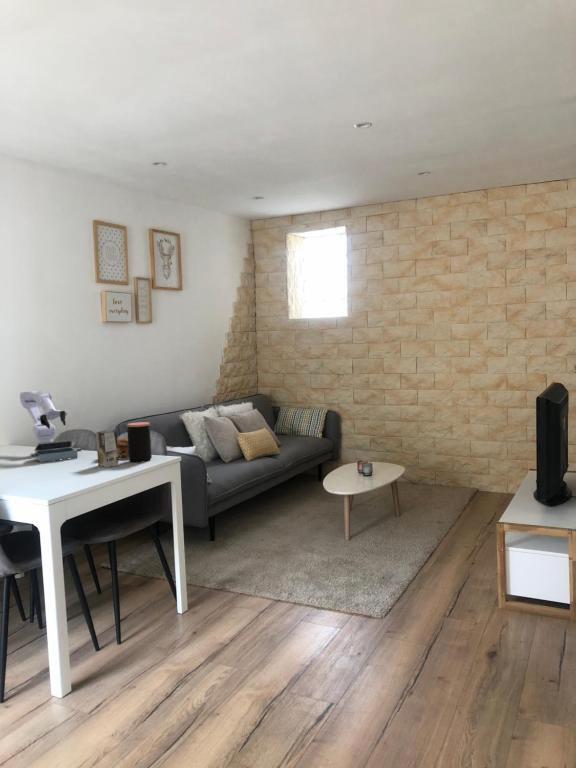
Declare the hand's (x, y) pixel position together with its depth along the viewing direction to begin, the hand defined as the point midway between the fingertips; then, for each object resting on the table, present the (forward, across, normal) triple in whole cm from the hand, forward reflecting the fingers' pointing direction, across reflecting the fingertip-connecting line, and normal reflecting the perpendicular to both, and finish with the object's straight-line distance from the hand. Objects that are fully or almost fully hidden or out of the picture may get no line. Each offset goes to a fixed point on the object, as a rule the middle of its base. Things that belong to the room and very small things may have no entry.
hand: (57, 425), depth 318 cm
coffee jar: (+42, +27, -2) cm, 50 cm away
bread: (+28, +24, +6) cm, 37 cm away
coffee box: (+42, +11, -5) cm, 43 cm away
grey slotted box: (+6, -2, +16) cm, 18 cm away
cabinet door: (+3, -2, +11) cm, 11 cm away
